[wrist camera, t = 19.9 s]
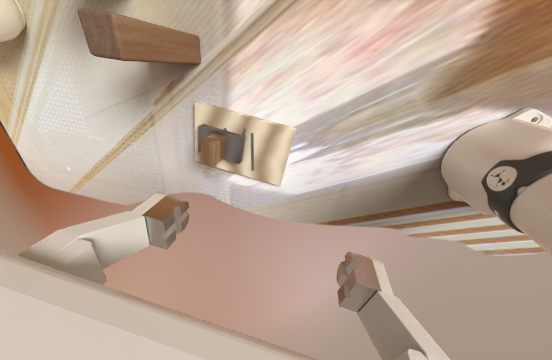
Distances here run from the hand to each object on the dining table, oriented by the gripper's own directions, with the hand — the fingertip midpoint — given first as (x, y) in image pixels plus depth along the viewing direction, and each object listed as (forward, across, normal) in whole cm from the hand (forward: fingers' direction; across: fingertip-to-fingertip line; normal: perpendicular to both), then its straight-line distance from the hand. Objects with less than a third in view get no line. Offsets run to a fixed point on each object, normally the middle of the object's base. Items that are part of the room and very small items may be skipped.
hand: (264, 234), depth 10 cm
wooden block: (+34, +27, -5) cm, 44 cm away
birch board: (+34, +12, +11) cm, 38 cm away
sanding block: (+32, +16, +11) cm, 38 cm away
